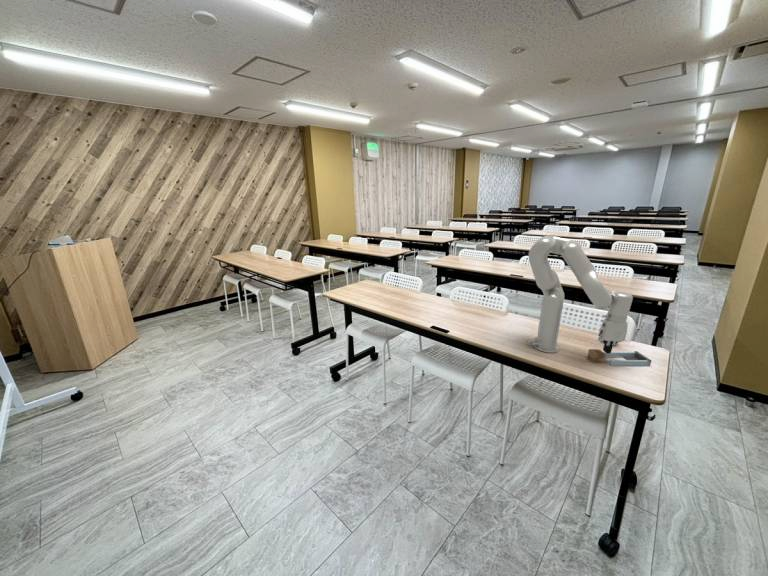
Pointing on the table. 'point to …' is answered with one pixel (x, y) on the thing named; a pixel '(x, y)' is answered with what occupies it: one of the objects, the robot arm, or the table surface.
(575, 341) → the table surface
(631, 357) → the grey open frame
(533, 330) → the table surface
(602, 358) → the walnut block
